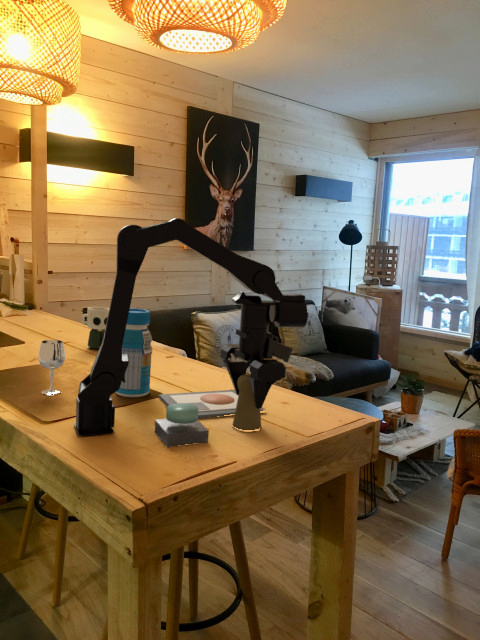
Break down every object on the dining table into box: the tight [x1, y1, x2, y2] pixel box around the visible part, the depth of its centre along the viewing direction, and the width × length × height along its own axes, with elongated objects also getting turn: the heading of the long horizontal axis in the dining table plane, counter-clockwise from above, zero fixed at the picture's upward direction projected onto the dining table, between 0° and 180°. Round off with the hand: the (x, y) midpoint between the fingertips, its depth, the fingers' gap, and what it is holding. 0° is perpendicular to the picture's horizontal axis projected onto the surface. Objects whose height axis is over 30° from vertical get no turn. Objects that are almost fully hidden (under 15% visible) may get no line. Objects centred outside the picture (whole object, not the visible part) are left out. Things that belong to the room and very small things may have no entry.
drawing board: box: [158, 389, 266, 420], centre depth 124 cm, size 20×16×1 cm
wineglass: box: [38, 339, 66, 396], centre depth 124 cm, size 6×6×12 cm
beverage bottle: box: [115, 308, 153, 398], centre depth 128 cm, size 8×8×20 cm
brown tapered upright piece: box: [232, 373, 262, 430], centre depth 111 cm, size 6×6×11 cm
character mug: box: [81, 306, 110, 349], centre depth 174 cm, size 11×7×13 cm, turn 124°
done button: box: [165, 403, 199, 424], centre depth 103 cm, size 6×6×2 cm
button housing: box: [154, 418, 210, 448], centre depth 103 cm, size 8×8×2 cm
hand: (248, 401), depth 111 cm, fingers open, 9 cm apart
